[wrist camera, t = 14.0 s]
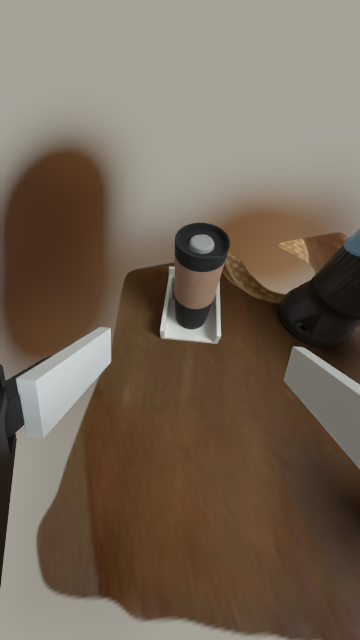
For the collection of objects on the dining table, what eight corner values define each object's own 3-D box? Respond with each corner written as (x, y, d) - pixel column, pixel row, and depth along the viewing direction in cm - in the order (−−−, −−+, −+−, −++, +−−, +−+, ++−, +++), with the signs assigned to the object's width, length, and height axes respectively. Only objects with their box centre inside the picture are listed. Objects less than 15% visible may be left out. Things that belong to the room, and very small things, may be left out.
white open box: (216, 286, 47) (221, 270, 42) (217, 343, 39) (223, 332, 34) (169, 282, 47) (169, 266, 42) (161, 338, 39) (159, 326, 34)
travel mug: (173, 303, 43) (172, 222, 26) (204, 301, 44) (224, 221, 26) (175, 331, 40) (176, 259, 22) (209, 329, 40) (237, 257, 23)
